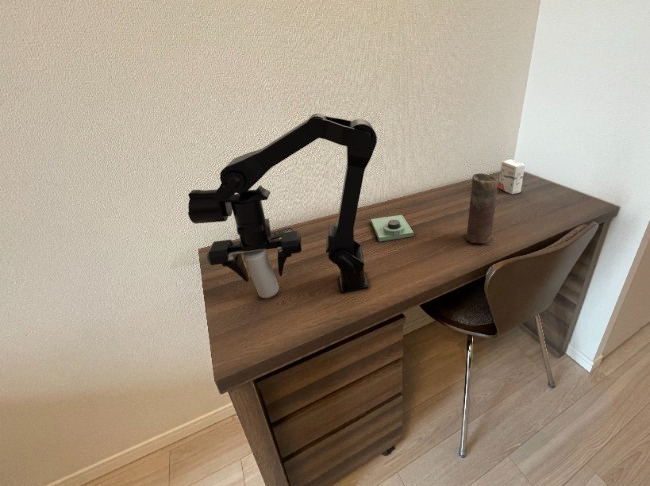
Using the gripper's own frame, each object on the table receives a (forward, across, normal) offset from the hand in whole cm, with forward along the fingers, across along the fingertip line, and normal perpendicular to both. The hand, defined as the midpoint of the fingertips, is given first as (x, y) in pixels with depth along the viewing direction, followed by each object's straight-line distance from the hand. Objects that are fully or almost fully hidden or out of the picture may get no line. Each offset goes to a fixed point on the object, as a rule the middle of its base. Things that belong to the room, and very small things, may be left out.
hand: (264, 277), depth 75 cm
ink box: (+3, -91, -40) cm, 100 cm away
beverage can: (+5, 0, 0) cm, 5 cm away
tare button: (+1, -36, -18) cm, 41 cm away
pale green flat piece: (+4, -36, -22) cm, 43 cm away
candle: (+4, -60, -8) cm, 61 cm away
